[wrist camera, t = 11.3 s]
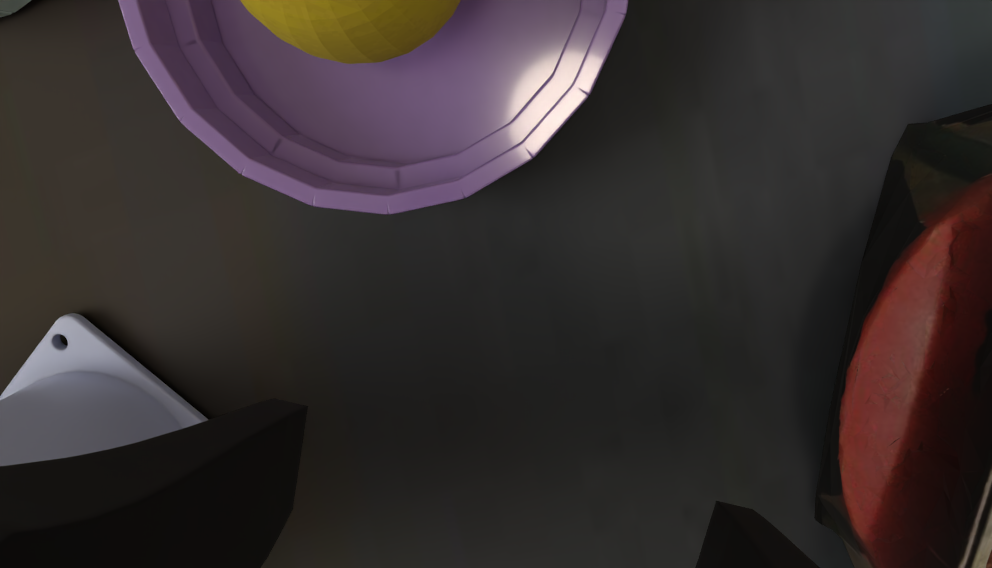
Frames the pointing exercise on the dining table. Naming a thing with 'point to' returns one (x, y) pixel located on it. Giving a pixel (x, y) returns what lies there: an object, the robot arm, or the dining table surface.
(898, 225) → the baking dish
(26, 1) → the celadon bowl
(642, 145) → the dining table surface
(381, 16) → the lemon
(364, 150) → the lavender bowl
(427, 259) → the dining table surface
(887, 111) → the dining table surface
